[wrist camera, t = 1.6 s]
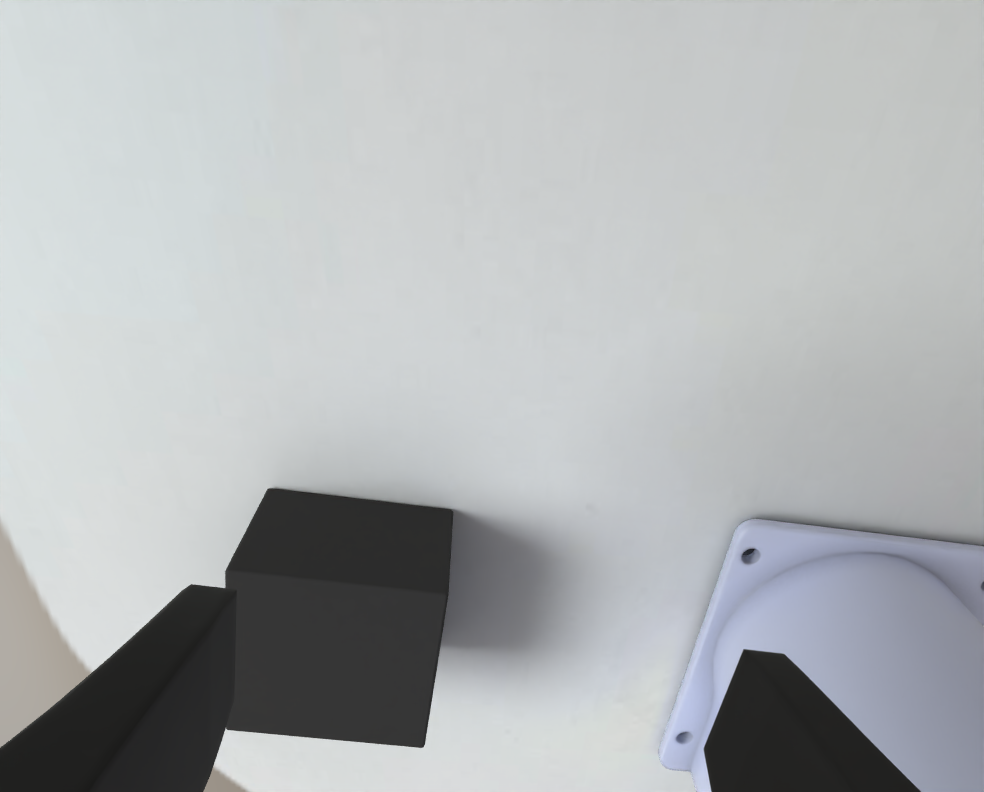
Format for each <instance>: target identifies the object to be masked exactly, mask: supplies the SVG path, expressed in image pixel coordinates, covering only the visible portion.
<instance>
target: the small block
mask: <svg viewBox="0 0 984 792" xmlns="http://www.w3.org/2000/svg"><path fill="white" fill-rule="evenodd" d="M452 525H453V511H452V510H448V509H439V508H431V507H422V506H414V505H405V504H397V503H388V502H380V501H372V500H363V499H355V498H346V497H338V496H329V495H321V494H312V493H304V492H295V491H287V490H279V489H267V491H266V493H265V495H264V497H263V499H262V501H261V503H260V505H259V507H258V509H257V511H256V513H255V515H254V517H253V518H252V520H251V522H250V524H249V526H248V528H247V530H246V532H245V534H244V536H243V538H242V540H241V542H240V544H239V546H238V548H237V550H236V551H235V553H234V555H233V557H232V559H231V561H230V563H229V565H228V567H227V569H226V571H225V579H226V589H235V590H237V600H236V647H235V694H234V703H233V706H232V709H231V712H230V715H229V719H228V722H227V725H226V729H227V730H234V731H245V732H256V733H267V734H278V735H289V736H299V737H310V738H321V739H332V740H343V741H354V742H365V743H375V744H386V745H397V746H408V747H419V748H422V747H424V745H425V740H426V733H427V727H428V721H429V714H430V708H431V702H432V695H433V689H434V683H435V676H436V670H437V664H438V657H439V651H440V645H441V638H442V632H443V626H444V619H445V613H446V607H447V600H448V592H449V575H450V559H451V542H452Z"/></svg>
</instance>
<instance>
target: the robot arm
mask: <svg viewBox="0 0 984 792" xmlns="http://www.w3.org/2000/svg"><path fill="white" fill-rule="evenodd" d="M748 549H755V550H754V551H753V553H751V554H749V555H744V556H743V555H742V554H743V553H744V551H746V550H748ZM983 581H984V546H977V545H969V544H961V543H952V542H944V541H936V540H928V539H920V538H911V537H903V536H895V535H887V534H878V533H870V532H862V531H854V530H845V529H837V528H829V527H821V526H812V525H804V524H796V523H788V522H779V521H771V520H763V519H749V520H747V521H744V522H742V523H741V524H740V525H739V526H738V527H737V528H736V530H735V532H734V535H733V537H732V540H731V543H730V546H729V549H728V552H727V555H726V558H725V560H724V563H723V566H722V569H721V572H720V575H719V578H718V581H717V583H716V586H715V589H714V592H713V595H712V598H711V601H710V603H709V606H708V609H707V612H706V615H705V618H704V621H703V624H702V626H701V629H700V632H699V635H698V638H697V641H696V644H695V646H694V649H693V652H692V655H691V658H690V661H689V664H688V667H687V669H686V672H685V675H684V678H683V681H682V684H681V687H680V690H679V692H678V695H677V698H676V701H675V704H674V707H673V710H672V712H671V715H670V718H669V721H668V724H667V727H666V730H665V733H664V735H663V738H662V741H661V744H660V747H659V751H658V754H659V758H660V762H661V764H662V765H663V766H664V767H665V768H667V769H671V770H678V771H689V772H691V775H692V778H693V782H694V785H695V788H696V792H984V582H983ZM236 600H237V590H235V589H226V588H218V587H209V586H201V585H192V584H191V585H190V586H188V587H187V588H185V589H184V590H182V591H181V592H180V593H179V594H178V595H177V596H176V597H175V598H174V599H173V600H172V601H171V602H170V603H169V604H167V605H166V606H165V607H164V608H163V609H162V610H161V611H160V612H159V613H158V614H157V615H156V616H155V617H154V618H152V619H151V620H150V621H149V622H148V623H147V624H146V625H145V626H144V627H143V628H142V629H141V630H139V631H138V632H137V633H136V634H135V635H134V636H133V637H132V638H131V639H130V640H128V641H127V642H126V643H125V644H124V645H123V646H122V647H121V648H120V649H118V650H117V651H116V652H115V653H114V654H113V655H112V656H111V657H110V658H108V659H107V660H106V661H105V662H104V663H103V664H101V665H100V666H99V667H98V668H97V669H96V670H95V671H93V672H92V673H91V674H90V675H89V676H88V677H86V678H85V679H84V680H83V681H82V682H81V683H79V684H78V685H77V686H76V687H75V688H74V689H72V690H71V691H70V692H69V693H68V694H67V695H65V696H64V697H63V698H62V699H61V700H60V701H58V702H57V703H56V704H55V705H54V706H53V707H51V708H50V709H49V710H48V711H46V712H45V713H44V714H43V715H41V716H40V717H39V718H38V719H36V720H35V721H34V722H32V723H31V724H30V725H29V726H27V728H25V729H24V730H23V731H21V732H20V733H19V734H17V735H16V736H15V737H13V738H12V739H11V740H10V741H8V742H7V743H6V744H5V745H3V746H2V747H1V748H0V792H203V791H204V789H205V786H206V784H207V782H208V779H209V777H210V774H211V771H212V768H213V765H214V762H215V759H216V756H217V753H218V750H219V747H220V744H221V741H222V738H223V735H224V731H225V728H226V725H227V722H228V719H229V715H230V712H231V709H232V706H233V703H234V694H235V647H236ZM682 732H684V733H682Z"/></svg>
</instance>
